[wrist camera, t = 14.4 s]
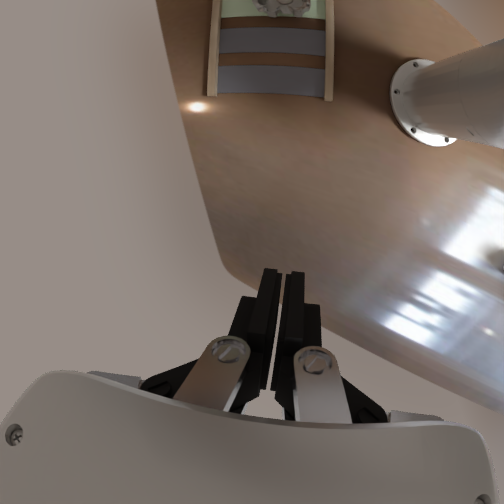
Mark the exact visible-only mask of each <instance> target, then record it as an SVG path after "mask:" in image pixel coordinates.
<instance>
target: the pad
mask: <svg viewBox="0 0 504 504" xmlns="http://www.w3.org/2000/svg"><path fill="white" fill-rule="evenodd" d="M310 2H311V7H310V10H309V11H307V12H305V13H304V14H303V16H302V17H306V18H317V19H325V0H310ZM243 16H268V14H267V13H265V12H259V11H258V10H257V8H256V7H255V5H254V4H253V2H252V0H222V13H221V18H227V17H243ZM277 16H291V17H295V16H294V14H293V13H292V14H284V13H282V12H280V13H278V15H277Z"/></svg>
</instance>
